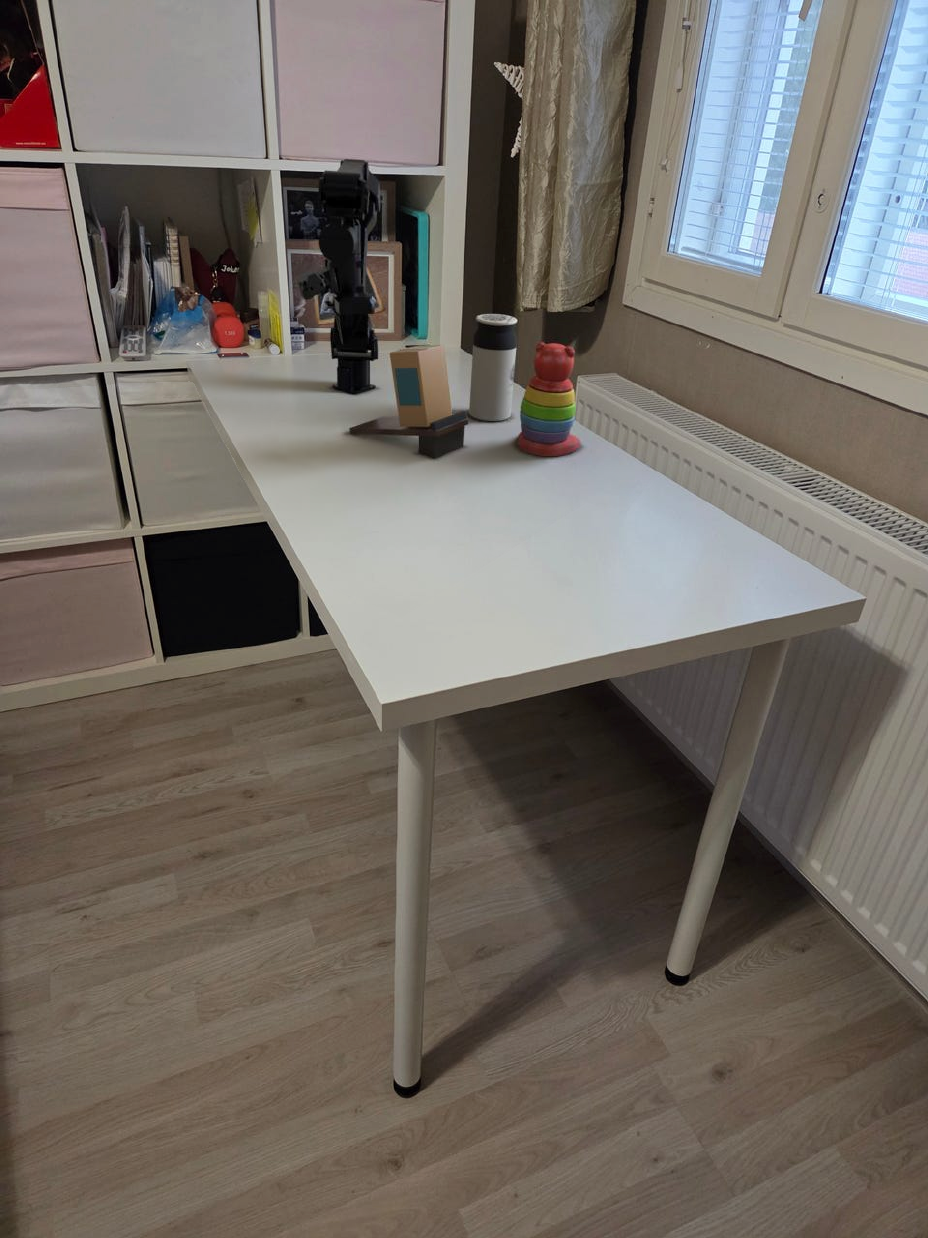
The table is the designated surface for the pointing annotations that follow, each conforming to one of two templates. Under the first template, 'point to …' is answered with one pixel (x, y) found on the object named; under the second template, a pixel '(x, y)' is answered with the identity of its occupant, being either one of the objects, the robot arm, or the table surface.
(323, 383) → the table surface
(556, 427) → the stacking bear
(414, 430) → the ramp
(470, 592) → the table surface
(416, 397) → the carton
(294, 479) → the table surface
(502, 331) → the travel mug
